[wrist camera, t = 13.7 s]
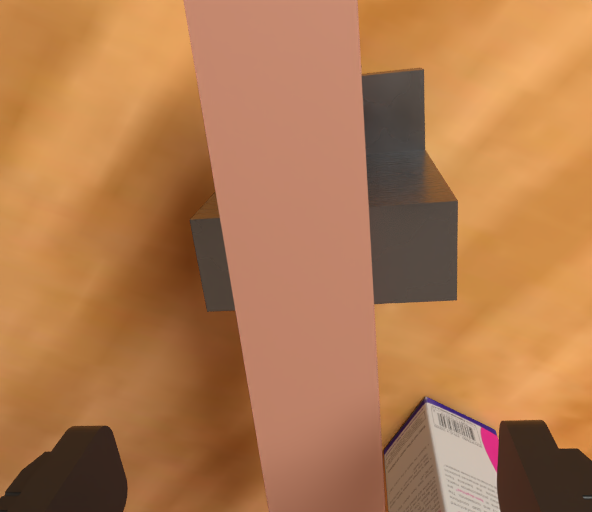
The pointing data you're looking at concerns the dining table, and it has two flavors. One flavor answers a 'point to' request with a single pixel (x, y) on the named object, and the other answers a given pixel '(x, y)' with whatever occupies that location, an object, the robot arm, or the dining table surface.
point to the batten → (296, 239)
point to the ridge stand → (376, 204)
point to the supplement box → (442, 463)
